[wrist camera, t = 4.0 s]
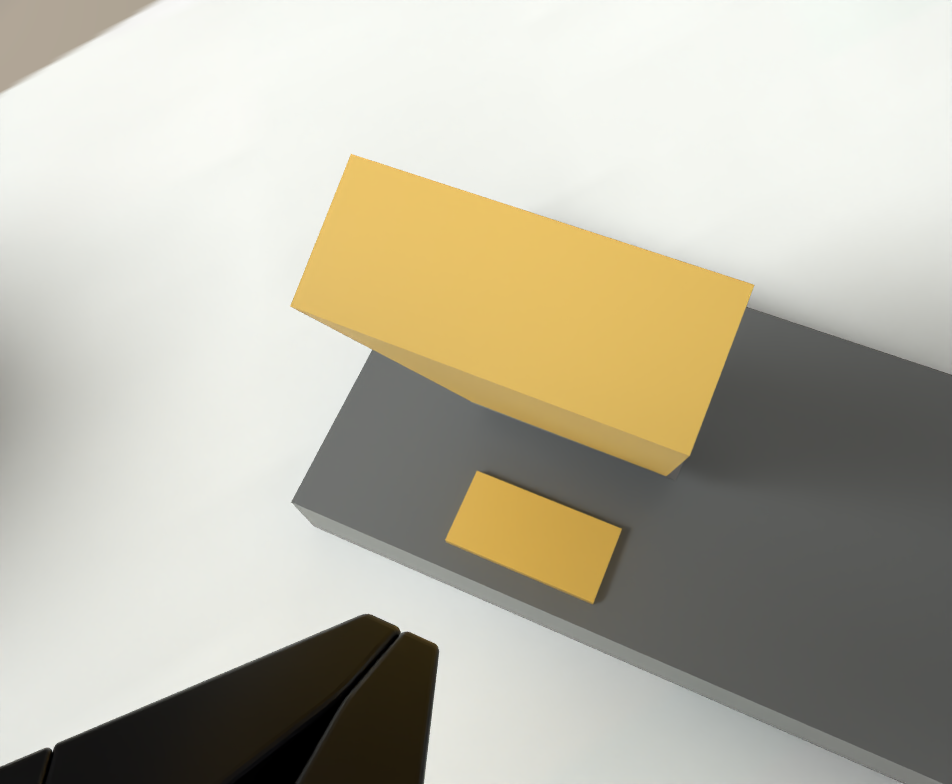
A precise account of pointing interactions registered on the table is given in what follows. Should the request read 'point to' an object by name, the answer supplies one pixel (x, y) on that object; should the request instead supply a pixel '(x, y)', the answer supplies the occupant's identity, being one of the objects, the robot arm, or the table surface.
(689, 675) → the grey switch base
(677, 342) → the rocker amber
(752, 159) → the table surface
